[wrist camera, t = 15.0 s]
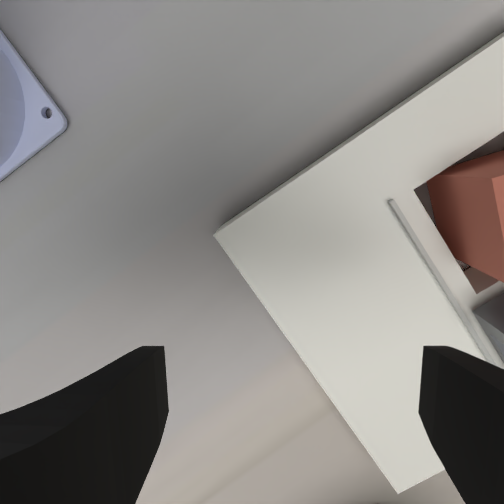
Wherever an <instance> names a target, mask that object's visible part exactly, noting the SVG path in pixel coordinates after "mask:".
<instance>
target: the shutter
mask: <svg viewBox="0 0 504 504" xmlns="http://www.w3.org/2000/svg"><path fill="white" fill-rule="evenodd" d="M472 312H473V314H474V315H475V317H476V319H477V320H478V322H479V323H480V325H481V327H482V328H483V330H484V332H485V333H486V335H487V336H488V338H489V340H490V341H491V343H492V345H493V346H494V348H495V349H496V351H497V353H498V354H499V356H500V358H501V359H502V361H503V363H504V293H502V294H500V295H498V296H497V297H495V298H493V299H492V300H490V301H488V302H486V303H485V304H483V305H481V306H479V307H478V308H476V309H474V310H473V311H472Z"/></svg>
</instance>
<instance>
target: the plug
mask: <svg viewBox="0 0 504 504" xmlns="http://www.w3.org/2000/svg"><path fill="white" fill-rule="evenodd" d="M426 182H427V186H428V191H429V195H430V200H431V204H432V208H433V213H434V217H435V222H436V226H437V230H438V232H439V233H440V235H441V236H442V238H443V240H444V241H445V243H446V245H447V246H448V248H449V250H450V251H451V253H452V255H453V256H454V258H456V259H458V260H460V261H462V262H464V263H466V264H468V265H470V266H472V267H474V268H476V269H478V270H480V271H482V272H484V273H486V274H488V275H489V276H491V277H493V278H495V279H497V280H499V281H501V282H503V283H504V150H502V151H499V152H495V153H492V154H489V155H486V156H482V157H479V158H476V159H473V160H469V161H466V162H463V163H459V164H456V165H453V166H450V167H448V168H446V169H445V170H443V171H442V172H440V173H439V174H437V175H435V176H434V177H432V178H431V179H429V180H428V181H426Z"/></svg>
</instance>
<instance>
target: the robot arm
mask: <svg viewBox="0 0 504 504" xmlns="http://www.w3.org/2000/svg"><path fill="white" fill-rule="evenodd" d="M48 108H50V109H51V111H52V116H51V117H50V118H47V117H46V110H47V109H48ZM66 128H67V119H66V117H65V116H64V114H63V113H62V112H61V110H60V109H59V108H58V106H57V105H56V104H55V102H54V101H53V100H52V98H51V97H50V95H49V94H48V93H47V91H46V90H45V89H44V87H43V86H42V85H41V83H40V82H39V81H38V79H37V78H36V77H35V75H34V74H33V73H32V71H31V70H30V68H29V67H28V66H27V64H26V63H25V62H24V60H23V59H22V58H21V56H20V55H19V54H18V52H17V51H16V50H15V48H14V47H13V46H12V44H11V43H10V41H9V40H8V39H7V37H6V36H5V35H4V33H3V32H2V31H1V29H0V181H2V180H3V179H4V178H5V177H7V176H8V175H9V174H11V173H12V172H13V171H14V170H16V169H17V168H18V167H19V166H21V165H22V164H23V163H25V162H26V161H27V160H28V159H30V158H31V157H32V156H33V155H35V154H36V153H37V152H39V151H40V150H41V149H42V148H44V147H45V146H46V145H47V144H49V143H50V142H51V141H53V140H54V139H55V138H56V137H58V136H59V135H60V134H61V133H63V132H64V131H65V130H66ZM168 412H169V409H168V394H167V380H166V366H165V352H164V346H142V347H139V348H137V349H135V350H133V351H131V352H129V353H127V354H126V355H124V356H122V357H120V358H119V359H117V360H115V361H113V362H112V363H110V364H108V365H106V366H105V367H103V368H101V369H99V370H98V371H96V372H94V373H92V374H90V375H88V376H87V377H85V378H83V379H81V380H79V381H77V382H75V383H73V384H71V385H69V386H67V387H65V388H64V389H62V390H59V391H57V392H55V393H53V394H51V395H49V396H46V397H44V398H42V399H40V400H37V401H35V402H32V403H30V404H27V405H25V406H23V407H20V408H17V409H15V410H12V411H9V412H6V413H3V414H0V504H135V503H136V500H137V498H138V496H139V493H140V491H141V489H142V486H143V484H144V481H145V479H146V477H147V474H148V472H149V470H150V467H151V465H152V462H153V460H154V457H155V455H156V453H157V450H158V448H159V445H160V442H161V439H162V435H163V432H164V428H165V424H166V420H167V416H168ZM418 413H419V416H420V418H421V421H422V423H423V426H424V428H425V431H426V433H427V436H428V438H429V440H430V442H431V445H432V447H433V449H434V450H435V452H436V454H437V456H438V457H439V459H440V461H441V463H442V464H443V466H444V468H445V470H446V471H447V473H448V475H449V476H450V478H451V480H452V481H453V483H454V485H455V487H456V488H457V490H458V492H459V493H460V495H461V497H462V498H463V500H464V502H465V503H466V504H504V369H502V368H500V367H497V366H495V365H493V364H491V363H489V362H486V361H484V360H482V359H480V358H477V357H475V356H473V355H470V354H468V353H466V352H463V351H461V350H458V349H455V348H453V347H449V346H423V357H422V370H421V383H420V396H419V410H418Z"/></svg>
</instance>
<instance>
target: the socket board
mask: <svg viewBox="0 0 504 504" xmlns="http://www.w3.org/2000/svg"><path fill="white" fill-rule="evenodd" d="M502 132H504V32H503V33H501V34H500V35H498V36H497V37H496V38H494V39H493V40H491V41H490V42H488V43H487V44H485V45H484V46H482V47H481V48H480V49H478V50H477V51H475V52H474V53H472V54H471V55H469V56H468V57H466V58H465V59H464V60H462V61H461V62H459V63H458V64H456V65H455V66H453V67H452V68H450V69H449V70H447V71H446V72H445V73H443V74H442V75H440V76H439V77H437V78H436V79H434V80H433V81H431V82H430V83H429V84H427V85H426V86H424V87H423V88H421V89H420V90H418V91H417V92H415V93H414V94H413V95H411V96H410V97H408V98H407V99H405V100H404V101H402V102H401V103H399V104H398V105H397V106H395V107H394V108H392V109H391V110H389V111H388V112H386V113H385V114H383V115H382V116H380V117H379V118H378V119H376V120H375V121H373V122H372V123H370V124H369V125H367V126H366V127H364V128H363V129H362V130H360V131H359V132H357V133H356V134H354V135H353V136H351V137H350V138H348V139H347V140H346V141H344V142H343V143H341V144H340V145H338V146H337V147H335V148H334V149H332V150H331V151H330V152H328V153H327V154H325V155H324V156H322V157H321V158H319V159H318V160H316V161H315V162H313V163H312V164H311V165H309V166H308V167H306V168H305V169H303V170H302V171H300V172H299V173H297V174H296V175H295V176H293V177H292V178H290V179H289V180H287V181H286V182H284V183H283V184H281V185H280V186H279V187H277V188H276V189H274V190H273V191H271V192H270V193H268V194H267V195H265V196H264V197H262V198H261V199H260V200H258V201H257V202H255V203H254V204H252V205H251V206H249V207H248V208H246V209H245V210H244V211H242V212H241V213H239V214H238V215H236V216H235V217H233V218H232V219H230V220H229V221H228V222H226V223H225V224H223V225H222V226H220V227H219V229H218V230H217V231H216V233H215V234H214V237H215V238H216V239H217V241H218V242H219V244H220V245H221V246H222V248H223V249H224V251H225V252H226V253H227V255H228V256H229V258H230V259H231V260H232V262H233V263H234V265H235V266H236V268H237V269H238V270H239V272H240V273H241V275H242V276H243V277H244V279H245V280H246V282H247V283H248V284H249V286H250V287H251V289H252V290H253V291H254V293H255V294H256V296H257V297H258V298H259V300H260V301H261V303H262V304H263V305H264V307H265V308H266V310H267V311H268V312H269V314H270V315H271V317H272V318H273V319H274V321H275V322H276V324H277V325H278V326H279V328H280V329H281V331H282V332H283V333H284V335H285V336H286V338H287V339H288V341H289V342H290V343H291V345H292V346H293V348H294V349H295V350H296V352H297V353H298V355H299V356H300V357H301V359H302V360H303V362H304V363H305V364H306V366H307V367H308V369H309V370H310V371H311V373H312V374H313V376H314V377H315V378H316V380H317V381H318V383H319V384H320V385H321V387H322V388H323V390H324V391H325V392H326V394H327V395H328V397H329V398H330V399H331V401H332V402H333V404H334V405H335V406H336V408H337V409H338V411H339V412H340V413H341V415H342V416H343V418H344V419H345V421H346V422H347V423H348V425H349V426H350V428H351V429H352V430H353V432H354V433H355V435H356V436H357V437H358V439H359V440H360V442H361V443H362V444H363V446H364V447H365V449H366V450H367V451H368V453H369V454H370V456H371V457H372V458H373V460H374V461H375V463H376V464H377V465H378V467H379V468H380V470H381V471H382V472H383V474H384V475H385V477H386V478H387V479H388V481H389V482H390V484H391V485H392V486H393V488H394V489H395V491H396V492H397V493H398V494H399V493H401V492H403V491H405V490H407V489H408V488H410V487H412V486H414V485H416V484H418V483H420V482H422V481H424V480H426V479H428V478H430V477H431V476H433V475H435V474H437V473H439V472H441V471H443V470H445V468H444V466H443V464H442V463H441V461H440V459H439V457H438V456H437V454H436V452H435V450H434V449H433V447H432V445H431V442H430V440H429V438H428V436H427V433H426V431H425V428H424V426H423V423H422V421H421V418H420V416H419V413H418V410H419V396H420V383H421V370H422V357H423V346H449V347H453V348H455V349H458V350H461V351H463V352H466V353H468V354H470V355H473V356H475V357H477V358H480V359H482V360H484V361H486V362H489V363H491V364H493V365H495V366H497V367H500V368H502V369H504V363H503V361H502V359H501V358H500V356H499V354H498V353H497V351H496V349H495V348H494V346H493V345H492V343H491V341H490V340H489V338H488V336H487V335H486V333H485V332H484V330H483V328H482V327H481V325H480V323H479V322H478V320H477V319H476V317H475V315H474V314H473V312H472V311H473V310H474V309H476V308H478V307H479V306H481V305H483V304H485V303H486V302H488V301H490V300H492V299H493V298H495V297H497V296H498V295H500V294H502V293H504V283H503V282H501V281H499V280H497V279H495V278H493V277H491V276H489V275H488V274H486V273H484V272H482V271H480V270H478V269H476V268H474V267H471V268H469V269H467V270H466V271H464V272H463V271H462V269H461V268H460V266H459V264H458V263H457V261H456V260H455V258H454V256H453V255H452V253H451V251H450V250H449V248H448V246H447V245H446V243H445V241H444V240H443V238H442V236H441V235H440V233H439V232H438V230H437V228H436V227H435V225H434V223H433V222H432V220H431V218H430V217H429V215H428V213H427V212H426V210H425V208H424V207H423V205H422V203H421V202H420V200H419V199H418V197H417V195H416V194H415V192H414V189H415V188H417V187H418V186H420V185H421V184H423V183H425V182H426V181H428V180H429V179H431V178H432V177H434V176H435V175H437V174H439V173H440V172H442V171H443V170H445V169H446V168H448V167H449V166H451V165H452V164H454V163H456V162H457V161H459V160H460V159H462V158H463V157H465V156H466V155H468V154H469V153H471V152H473V151H474V150H476V149H477V148H479V147H480V146H482V145H483V144H485V143H486V142H488V141H490V140H491V139H493V138H494V137H496V136H497V135H499V134H500V133H502Z"/></svg>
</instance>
